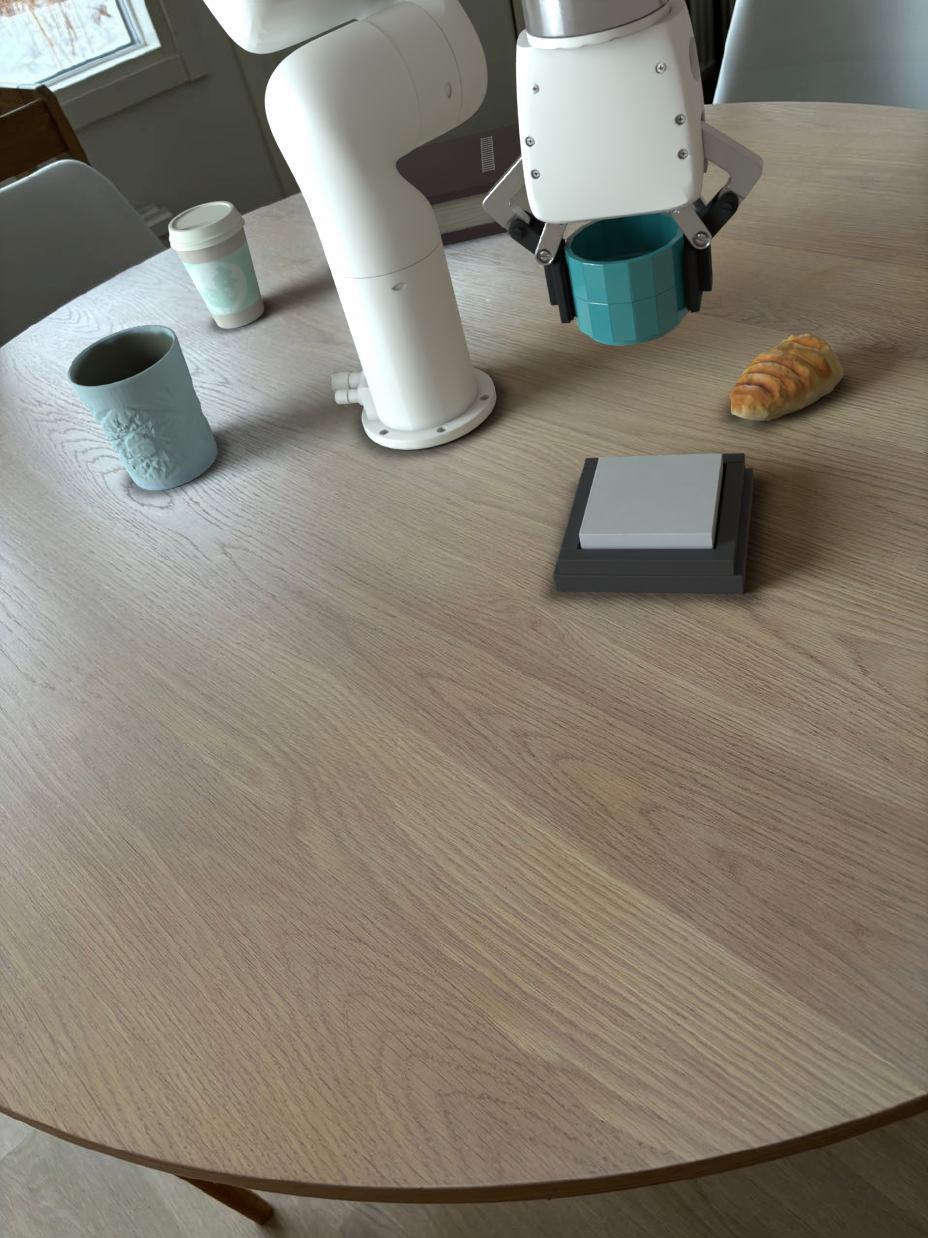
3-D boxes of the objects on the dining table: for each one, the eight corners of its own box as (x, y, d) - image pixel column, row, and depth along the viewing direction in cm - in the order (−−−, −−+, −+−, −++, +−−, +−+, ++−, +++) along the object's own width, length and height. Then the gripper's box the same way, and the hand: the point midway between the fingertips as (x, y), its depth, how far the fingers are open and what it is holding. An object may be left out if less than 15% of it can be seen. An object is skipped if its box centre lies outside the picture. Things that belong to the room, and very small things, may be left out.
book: (556, 157, 132) (549, 110, 128) (569, 217, 118) (561, 166, 114) (350, 205, 136) (337, 160, 132) (338, 268, 122) (323, 220, 118)
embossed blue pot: (192, 423, 102) (141, 315, 94) (247, 451, 96) (197, 337, 88) (107, 477, 98) (46, 369, 90) (159, 510, 92) (99, 396, 84)
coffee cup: (192, 335, 117) (148, 235, 109) (229, 298, 123) (190, 200, 115) (252, 335, 114) (211, 232, 106) (288, 297, 119) (252, 196, 111)
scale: (555, 591, 72) (549, 560, 70) (583, 488, 80) (578, 457, 78) (743, 594, 68) (742, 561, 66) (753, 484, 76) (752, 451, 74)
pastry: (774, 438, 80) (773, 396, 77) (708, 413, 84) (705, 372, 82) (849, 382, 83) (851, 340, 80) (782, 360, 87) (781, 320, 85)
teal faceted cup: (569, 353, 64) (554, 269, 60) (587, 297, 68) (575, 216, 65) (685, 345, 61) (678, 257, 57) (696, 287, 66) (689, 203, 62)
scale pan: (581, 551, 71) (578, 534, 70) (601, 473, 77) (599, 456, 76) (713, 551, 68) (712, 533, 67) (723, 470, 74) (722, 452, 73)
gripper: (772, -60, 52) (777, 265, 64) (453, 3, 58) (512, 291, 70) (766, -19, 47) (773, 326, 59) (418, 45, 53) (488, 348, 65)
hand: (631, 305), depth 64 cm, fingers closed on teal faceted cup, 7 cm apart
